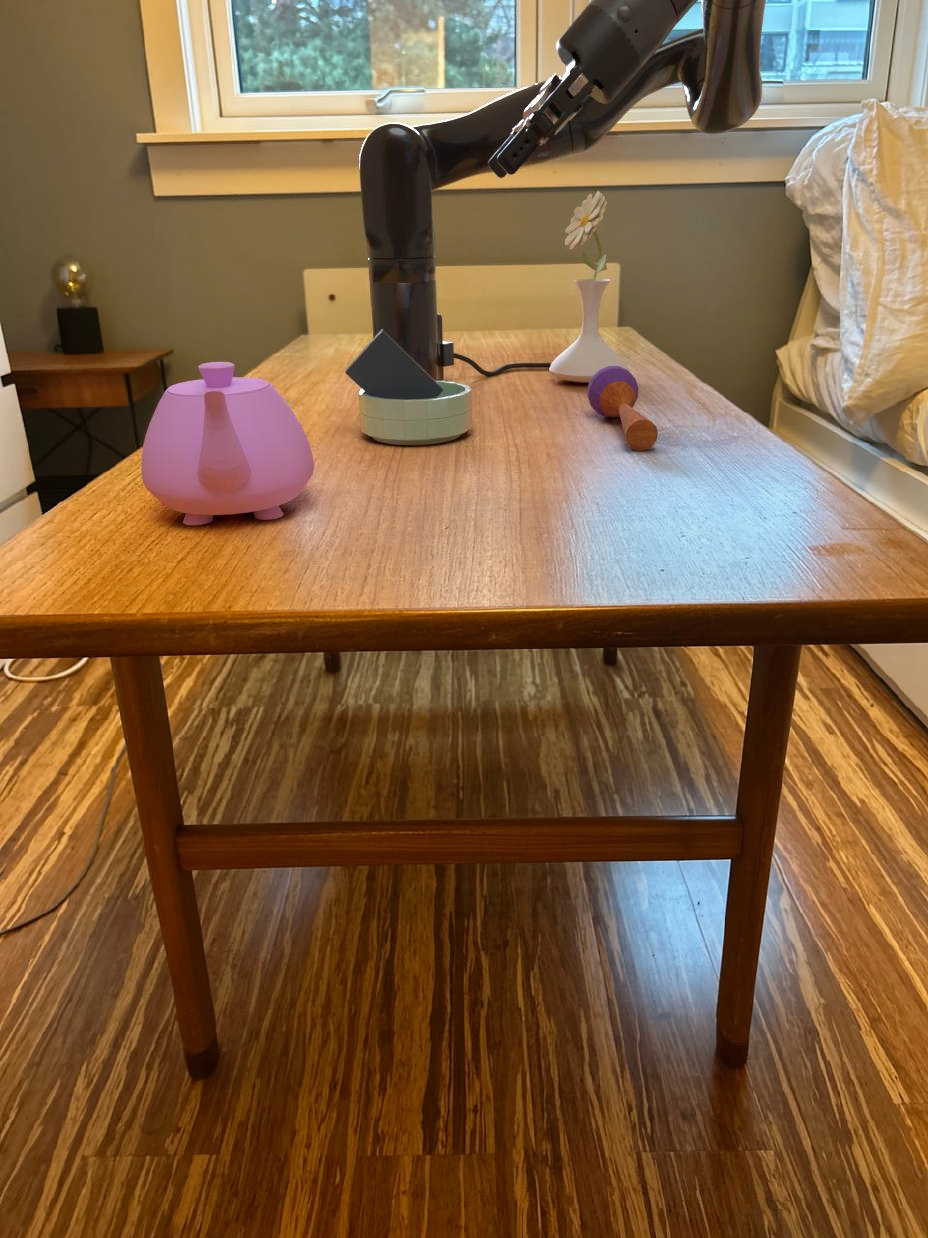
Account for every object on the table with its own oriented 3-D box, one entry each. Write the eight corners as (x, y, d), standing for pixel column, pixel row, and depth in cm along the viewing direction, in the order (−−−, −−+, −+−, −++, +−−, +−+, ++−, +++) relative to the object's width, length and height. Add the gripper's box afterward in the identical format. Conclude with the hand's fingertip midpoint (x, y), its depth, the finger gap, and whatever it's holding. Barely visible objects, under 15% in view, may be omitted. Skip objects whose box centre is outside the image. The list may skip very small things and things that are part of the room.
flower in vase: (547, 374, 137) (550, 192, 126) (622, 373, 136) (632, 190, 126) (551, 390, 125) (555, 191, 114) (634, 389, 124) (646, 189, 114)
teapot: (325, 542, 69) (311, 381, 64) (133, 558, 67) (102, 392, 62) (312, 474, 87) (300, 344, 82) (160, 485, 85) (138, 351, 80)
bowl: (416, 418, 110) (415, 376, 108) (493, 432, 102) (493, 387, 100) (339, 436, 102) (335, 391, 100) (416, 453, 94) (414, 405, 92)
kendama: (609, 413, 91) (580, 366, 109) (616, 468, 94) (587, 414, 112) (667, 401, 91) (629, 355, 108) (673, 456, 94) (635, 404, 111)
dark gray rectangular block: (405, 425, 103) (345, 369, 100) (441, 386, 101) (382, 328, 98) (406, 430, 100) (344, 372, 97) (443, 390, 99) (382, 330, 96)
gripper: (661, 55, 81) (534, 197, 85) (624, 76, 94) (515, 199, 98) (606, -16, 79) (477, 135, 83) (576, 16, 92) (466, 145, 96)
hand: (498, 169), depth 91 cm, fingers open, 8 cm apart
